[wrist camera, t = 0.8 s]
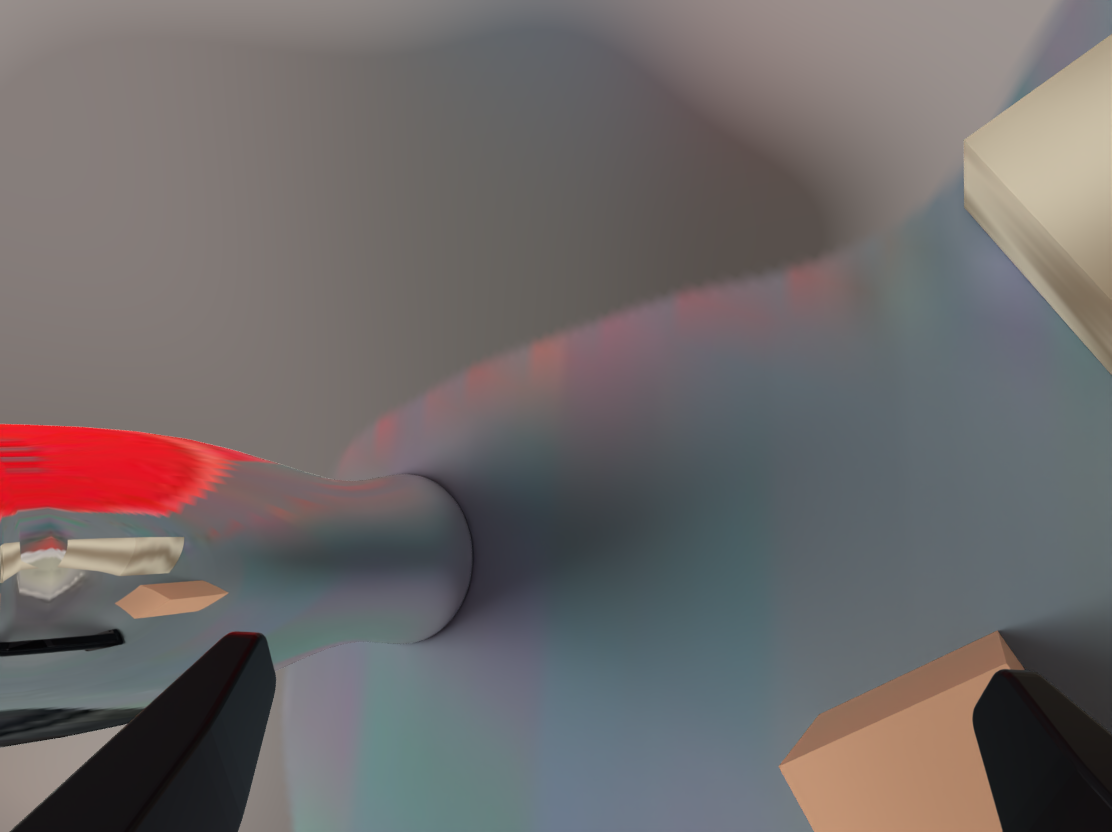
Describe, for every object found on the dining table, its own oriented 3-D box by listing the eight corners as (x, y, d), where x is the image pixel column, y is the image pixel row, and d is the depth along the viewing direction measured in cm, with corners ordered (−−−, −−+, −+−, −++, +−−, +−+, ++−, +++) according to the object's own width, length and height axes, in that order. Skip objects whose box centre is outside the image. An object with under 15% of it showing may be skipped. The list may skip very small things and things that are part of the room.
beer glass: (392, 428, 28) (-92, 346, 15) (519, 533, 25) (40, 542, 12) (310, 577, 30) (-207, 618, 17) (422, 696, 26) (-114, 866, 13)
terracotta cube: (1142, 838, 17) (1204, 949, 12) (934, 910, 18) (923, 1031, 14) (997, 630, 18) (1006, 663, 14) (819, 714, 20) (778, 766, 16)
